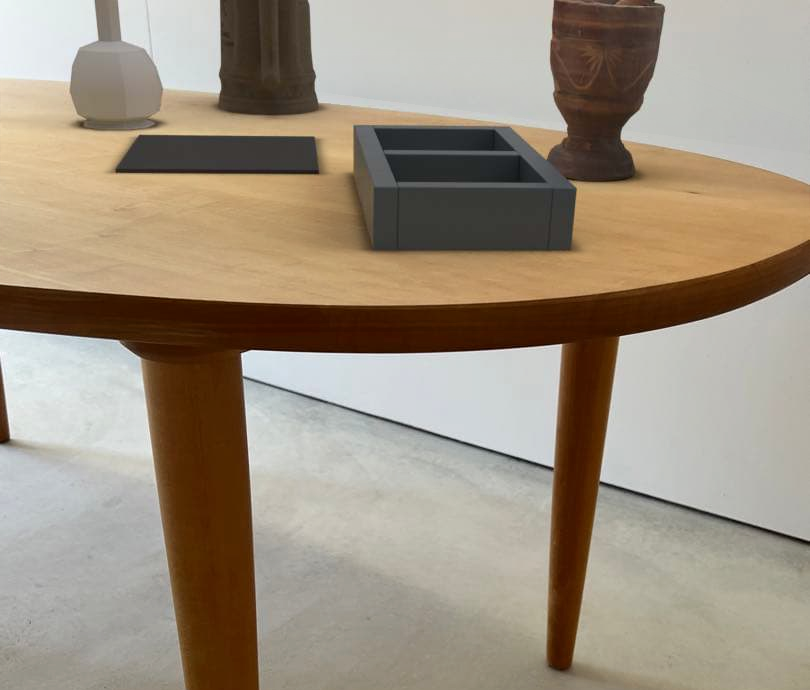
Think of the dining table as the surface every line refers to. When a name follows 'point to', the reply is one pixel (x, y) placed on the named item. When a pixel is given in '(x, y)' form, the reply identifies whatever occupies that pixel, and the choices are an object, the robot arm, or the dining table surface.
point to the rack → (459, 189)
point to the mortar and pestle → (601, 80)
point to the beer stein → (266, 57)
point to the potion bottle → (114, 78)
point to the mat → (221, 155)
